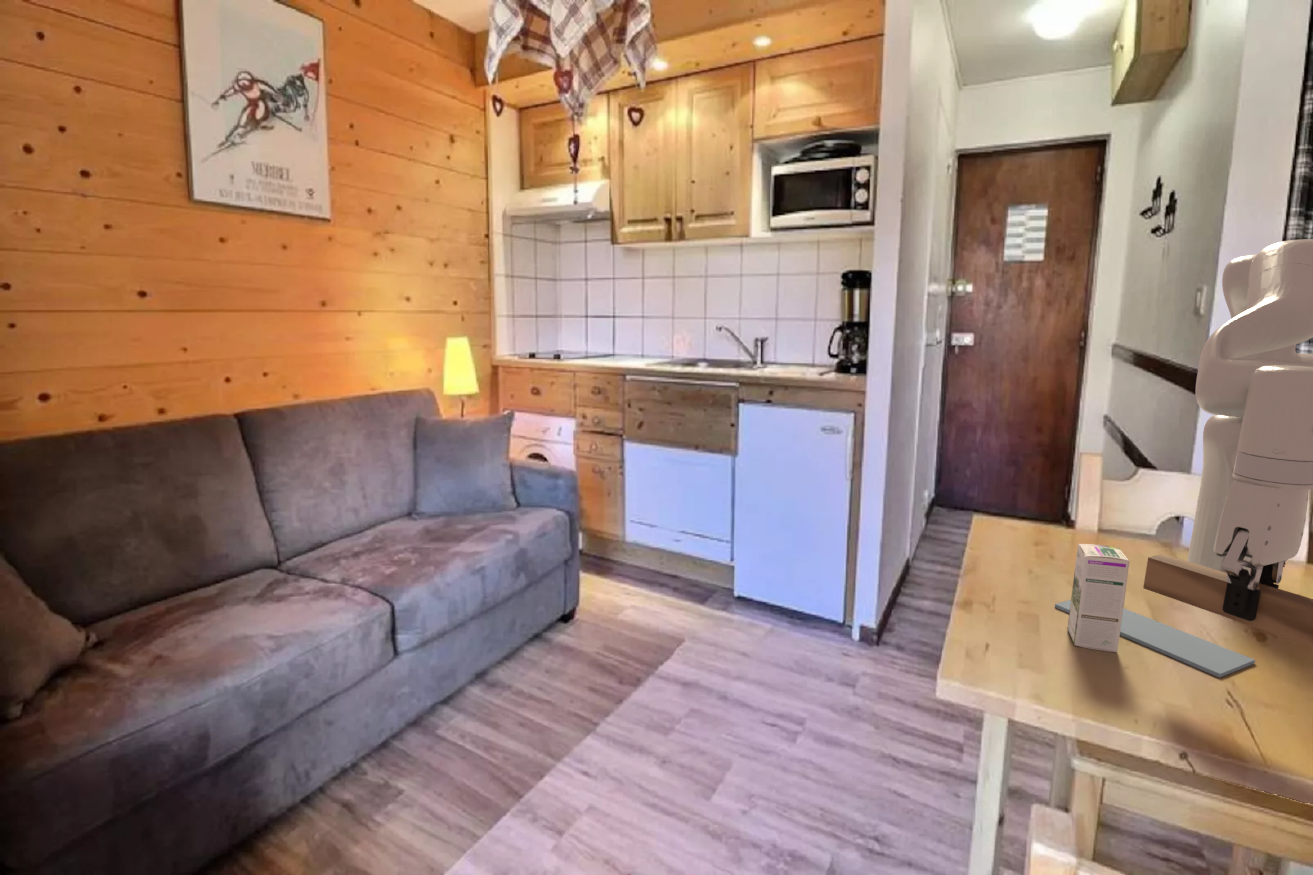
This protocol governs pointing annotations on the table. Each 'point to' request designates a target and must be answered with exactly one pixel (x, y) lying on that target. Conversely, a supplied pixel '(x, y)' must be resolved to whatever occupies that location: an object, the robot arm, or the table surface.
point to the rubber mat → (1178, 644)
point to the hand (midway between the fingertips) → (1247, 612)
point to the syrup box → (1098, 597)
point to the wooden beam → (1207, 591)
